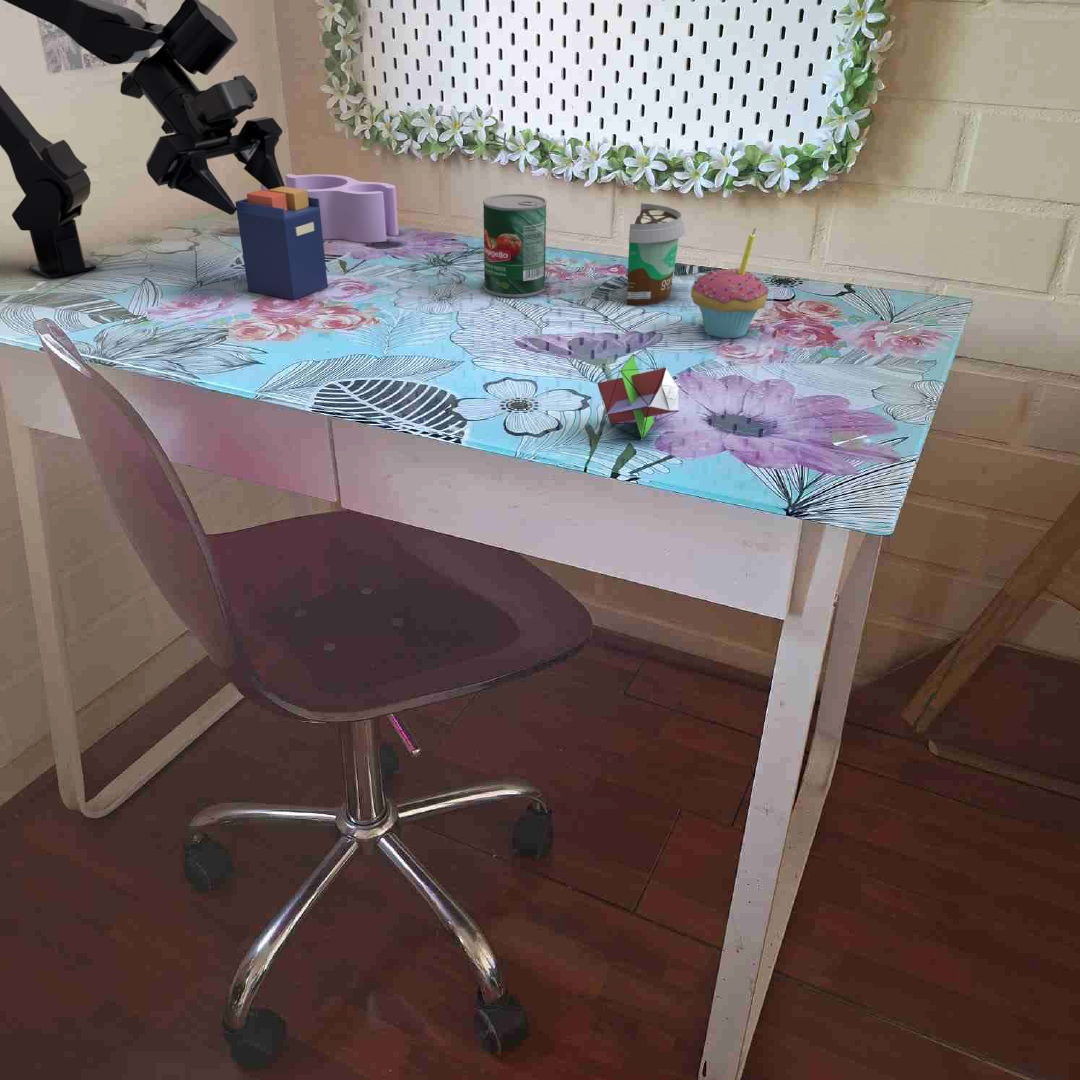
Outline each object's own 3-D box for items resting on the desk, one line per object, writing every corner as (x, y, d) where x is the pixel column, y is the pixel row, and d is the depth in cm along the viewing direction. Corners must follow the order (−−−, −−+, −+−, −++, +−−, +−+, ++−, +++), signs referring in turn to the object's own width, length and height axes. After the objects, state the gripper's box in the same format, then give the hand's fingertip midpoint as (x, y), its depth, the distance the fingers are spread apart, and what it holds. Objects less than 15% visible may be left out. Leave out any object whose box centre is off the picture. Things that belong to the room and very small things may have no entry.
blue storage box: (247, 291, 125) (235, 201, 119) (283, 278, 130) (272, 191, 124) (294, 300, 122) (284, 209, 116) (329, 287, 127) (320, 198, 121)
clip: (411, 228, 153) (408, 182, 150) (371, 247, 143) (367, 198, 140) (301, 216, 159) (296, 171, 156) (255, 233, 150) (248, 186, 146)
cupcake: (767, 324, 116) (781, 220, 110) (756, 348, 109) (770, 238, 103) (695, 316, 118) (705, 214, 112) (680, 339, 112) (689, 231, 105)
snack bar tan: (270, 206, 122) (268, 189, 121) (284, 202, 124) (282, 186, 123) (295, 210, 120) (293, 193, 119) (309, 206, 122) (307, 189, 121)
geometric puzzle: (569, 412, 88) (625, 352, 84) (593, 385, 94) (647, 327, 89) (628, 466, 89) (686, 409, 84) (648, 436, 95) (704, 381, 90)
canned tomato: (474, 293, 125) (472, 204, 120) (498, 276, 132) (497, 191, 126) (533, 300, 123) (533, 210, 117) (554, 283, 129) (555, 196, 124)
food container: (675, 312, 120) (682, 228, 115) (624, 308, 121) (629, 224, 116) (683, 283, 130) (689, 204, 125) (636, 279, 131) (641, 202, 126)
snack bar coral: (248, 210, 120) (246, 193, 119) (262, 206, 122) (260, 189, 121) (273, 214, 118) (271, 197, 117) (287, 210, 120) (285, 193, 119)
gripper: (143, 59, 109) (234, 174, 110) (260, 46, 123) (340, 148, 124) (109, 129, 116) (194, 237, 117) (223, 110, 130) (298, 206, 131)
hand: (260, 204), depth 122 cm, fingers open, 9 cm apart
